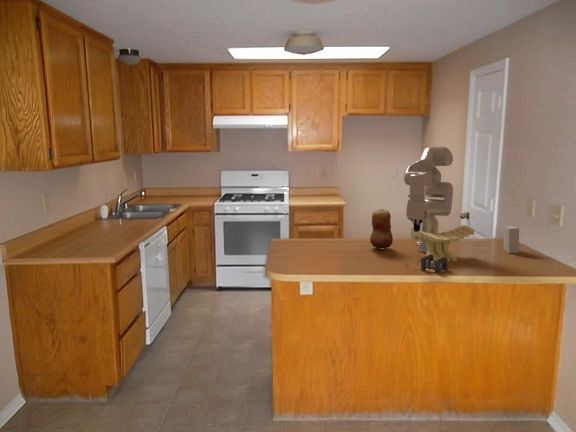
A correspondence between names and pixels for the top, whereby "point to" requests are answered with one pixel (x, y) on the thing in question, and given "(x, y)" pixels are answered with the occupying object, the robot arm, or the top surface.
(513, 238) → the skincare box
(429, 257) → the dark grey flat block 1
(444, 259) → the dark angular blocks
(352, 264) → the top surface
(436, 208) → the robot arm
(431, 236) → the slatted curved stool
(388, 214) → the butternut squash
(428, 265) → the tube
